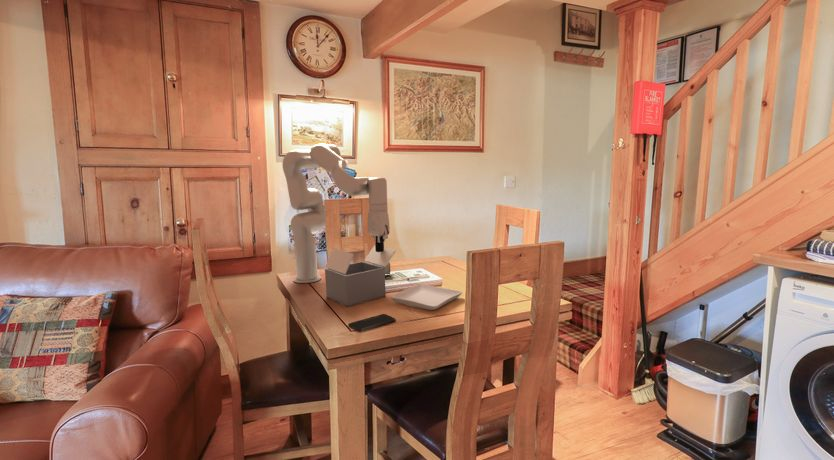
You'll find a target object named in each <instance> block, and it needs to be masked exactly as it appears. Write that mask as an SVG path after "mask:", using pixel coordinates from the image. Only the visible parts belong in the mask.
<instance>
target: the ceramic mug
mask: <svg viewBox="0 0 834 460" xmlns="http://www.w3.org/2000/svg"><path fill="white" fill-rule="evenodd" d="M372 264H373V263H372ZM373 265H376V264H373ZM377 266H380V265H377ZM380 267H383V266H380ZM384 268H385V274H390V275H391V263H390V261H389V262H388V264H387V265H386V267H384Z"/></svg>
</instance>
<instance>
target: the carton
mask: <svg viewBox="0 0 834 460" xmlns="http://www.w3.org/2000/svg"><path fill="white" fill-rule="evenodd" d="M324 276H325V277H324V278H325V293H326V299H329V300H331V301H333V302H335V303H338V304H340V305H341V306H345V307H346V308H348V307H353V306H356V305H360V304H363V303H366V302H370V301H374V300H379V299H382V298H385V297H386V296H387V295H386V276H385V268H384V267H380V266H377V265H373V263H369V262H366V261H358V262H354V263H353V262H352V263H350V265H349V267H348V270H347V272H346V274H343V273H340V272H337V271H334V270H331V269H329V268H324Z"/></svg>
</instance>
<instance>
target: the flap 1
mask: <svg viewBox="0 0 834 460" xmlns="http://www.w3.org/2000/svg"><path fill="white" fill-rule="evenodd" d="M353 257H354V253H352V252H348V251H345V250H341V249H337V248H332V250H331V252H330V255H329V257H328V259H327V261H326V264H325V266H324V267H325V269H327V268H329V269H331V270H334V271H337V272H340V273H343V274H346V272H347V270H348V267H349V265H350V264H351V262H352V259H353Z"/></svg>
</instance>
